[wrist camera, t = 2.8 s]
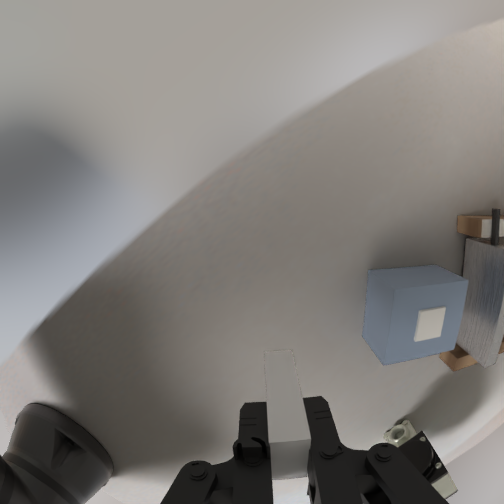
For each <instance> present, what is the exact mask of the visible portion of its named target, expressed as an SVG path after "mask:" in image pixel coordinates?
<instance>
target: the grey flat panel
mask: <svg viewBox="0 0 504 504" xmlns="http://www.w3.org/2000/svg"><path fill="white" fill-rule="evenodd" d="M499 227H500V209H492V230H491V242H490V241H487V240H483V239H480V238H466V247H465V259H464V269H463V278H465V279H467V280H468V287H467V293H466V299H465V304H464V309H463V314H462V319H461V323H460V328H459V332H458V336H457V340H456V344H457V345H459V346H460V347H461V348H462V349H463V350H464V351H466V352H467V353H468V354H469V355H470V356H471V357H473V358H474V359H475V360H476V361H477V362H478V363H480V364H481V365H482V366H483V367H484V368H486V367H488V366H491V365H493V364H495V362H496V359H497V356H498V352H499V349H500V346H501V342H502V339H503V335H504V245H500V244H498V243H499Z"/></svg>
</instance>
